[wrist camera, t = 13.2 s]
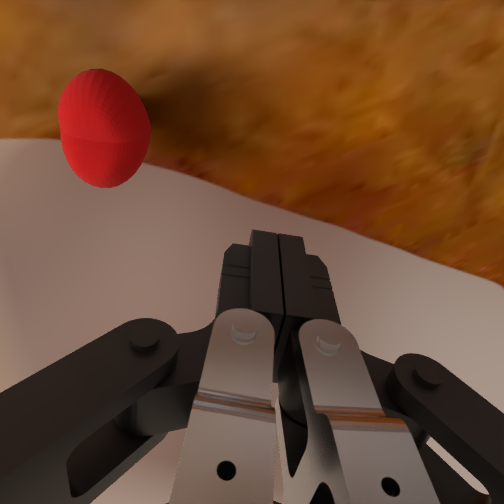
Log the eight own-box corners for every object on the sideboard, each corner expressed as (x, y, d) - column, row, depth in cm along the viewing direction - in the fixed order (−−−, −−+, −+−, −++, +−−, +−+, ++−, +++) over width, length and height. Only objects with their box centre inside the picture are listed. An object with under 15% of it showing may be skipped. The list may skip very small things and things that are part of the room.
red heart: (84, 49, 35) (31, 69, 27) (164, 61, 36) (136, 84, 27) (92, 151, 40) (50, 194, 32) (163, 160, 41) (139, 206, 32)
